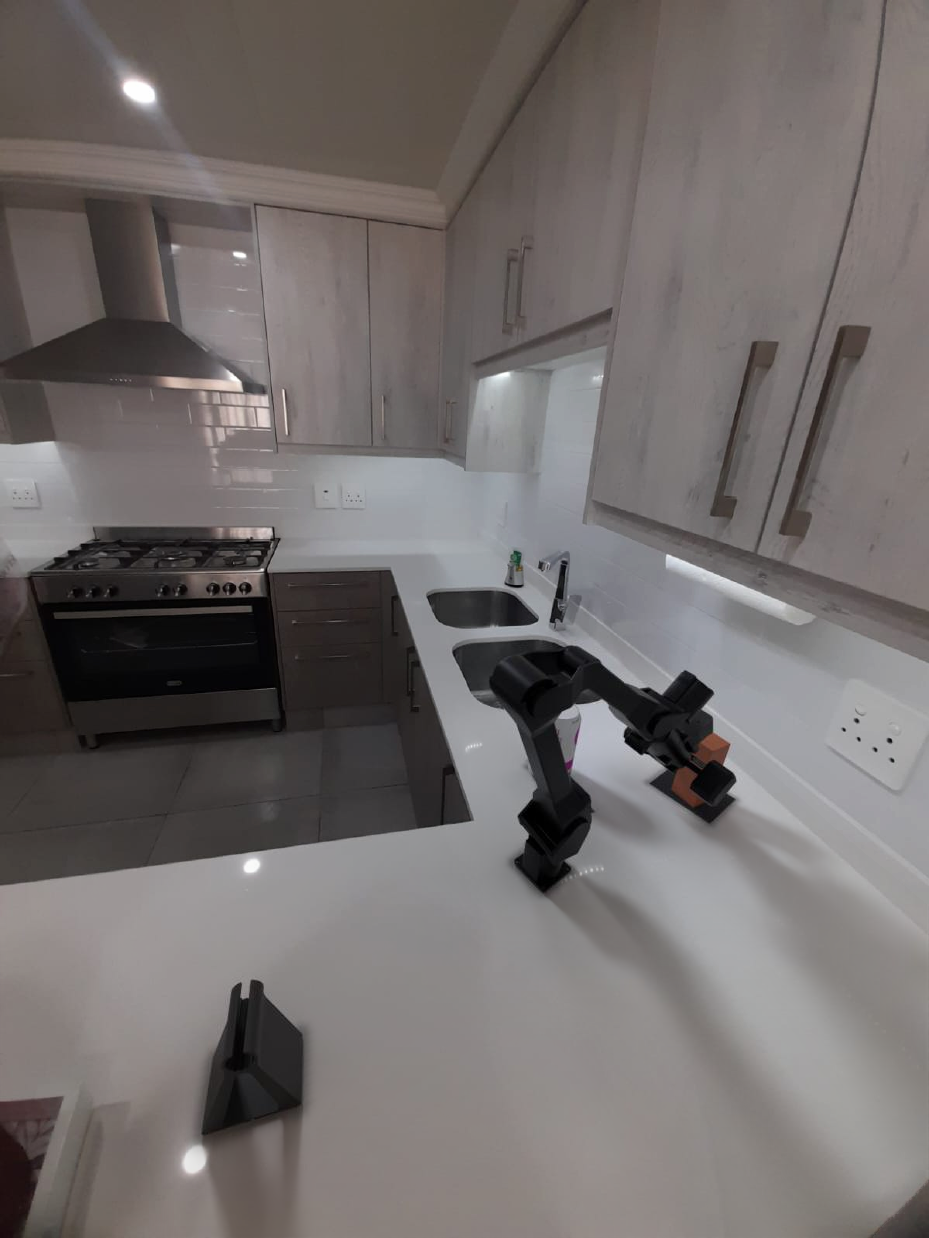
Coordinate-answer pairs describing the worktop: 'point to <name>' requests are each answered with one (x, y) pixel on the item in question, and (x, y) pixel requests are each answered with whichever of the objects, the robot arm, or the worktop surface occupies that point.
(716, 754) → the terracotta block
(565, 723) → the supplement can
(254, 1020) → the phone stand
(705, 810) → the mat
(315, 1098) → the worktop surface
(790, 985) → the worktop surface
